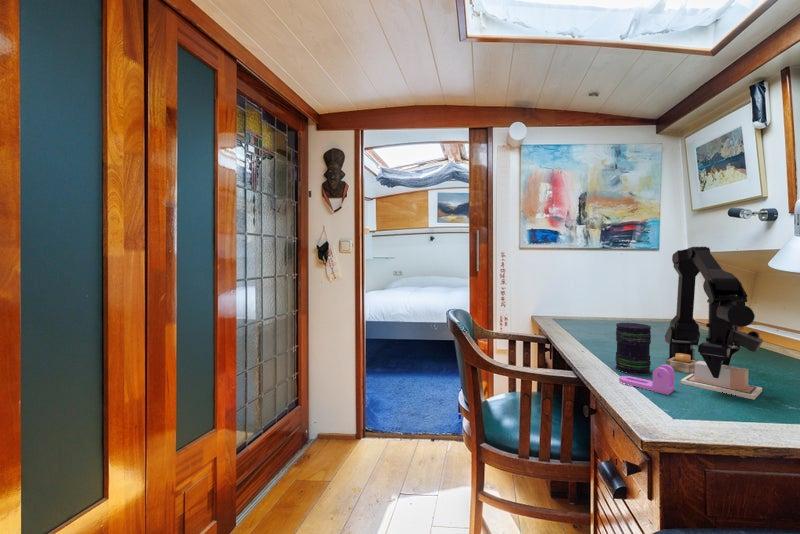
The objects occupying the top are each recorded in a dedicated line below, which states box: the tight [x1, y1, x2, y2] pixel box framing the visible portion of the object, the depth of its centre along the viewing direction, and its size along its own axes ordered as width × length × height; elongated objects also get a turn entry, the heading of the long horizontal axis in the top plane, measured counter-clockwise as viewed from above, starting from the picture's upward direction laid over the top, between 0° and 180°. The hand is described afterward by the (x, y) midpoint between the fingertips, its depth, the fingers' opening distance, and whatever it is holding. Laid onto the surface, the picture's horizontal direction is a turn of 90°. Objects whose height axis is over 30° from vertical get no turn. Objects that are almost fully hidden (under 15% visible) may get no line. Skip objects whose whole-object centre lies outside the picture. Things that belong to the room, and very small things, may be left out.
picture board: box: [680, 374, 763, 401], centre depth 107 cm, size 16×10×1 cm, turn 38°
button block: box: [666, 357, 699, 375], centre depth 124 cm, size 7×7×3 cm
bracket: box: [618, 364, 676, 396], centre depth 108 cm, size 13×6×7 cm, turn 40°
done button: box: [675, 353, 691, 364], centre depth 124 cm, size 4×4×3 cm
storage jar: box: [615, 322, 652, 375], centre depth 123 cm, size 10×10×15 cm
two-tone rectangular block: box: [694, 360, 750, 391], centre depth 107 cm, size 11×4×5 cm, turn 38°
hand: (720, 374), depth 107 cm, fingers open, 9 cm apart
